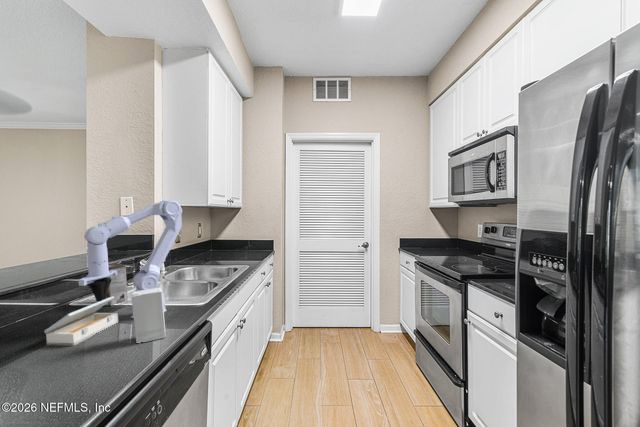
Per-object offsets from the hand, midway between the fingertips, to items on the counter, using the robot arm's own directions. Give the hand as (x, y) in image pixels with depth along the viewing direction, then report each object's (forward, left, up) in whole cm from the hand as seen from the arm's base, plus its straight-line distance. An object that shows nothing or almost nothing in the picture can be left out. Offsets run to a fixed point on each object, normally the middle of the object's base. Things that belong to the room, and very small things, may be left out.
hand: (100, 301), depth 112 cm
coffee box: (+15, -25, -9) cm, 30 cm away
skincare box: (-24, +9, -9) cm, 27 cm away
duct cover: (+1, +6, -3) cm, 7 cm away
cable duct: (+1, +6, -9) cm, 11 cm away
